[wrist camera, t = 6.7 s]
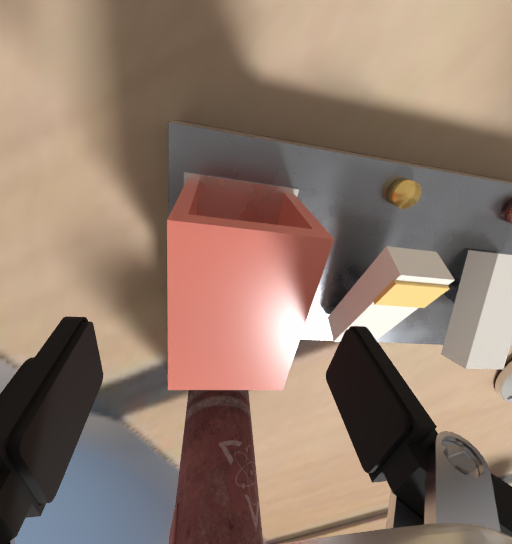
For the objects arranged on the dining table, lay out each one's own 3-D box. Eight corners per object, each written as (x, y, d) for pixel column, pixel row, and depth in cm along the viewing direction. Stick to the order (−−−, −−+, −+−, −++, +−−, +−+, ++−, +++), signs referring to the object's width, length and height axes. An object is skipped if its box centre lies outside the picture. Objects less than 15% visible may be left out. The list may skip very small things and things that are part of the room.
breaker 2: (505, 254, 19) (538, 258, 17) (475, 355, 20) (503, 369, 19) (468, 249, 18) (498, 253, 17) (441, 354, 20) (465, 368, 18)
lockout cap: (294, 194, 15) (334, 239, 10) (265, 314, 20) (282, 390, 14) (187, 178, 14) (166, 220, 9) (183, 309, 18) (167, 390, 13)
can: (194, 360, 26) (171, 573, 14) (254, 369, 27) (280, 565, 16) (181, 397, 29) (153, 601, 17) (237, 403, 30) (247, 591, 18)
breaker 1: (436, 251, 15) (457, 283, 13) (364, 319, 21) (373, 345, 20) (385, 246, 14) (402, 278, 13) (327, 317, 20) (333, 344, 19)
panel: (519, 182, 20) (585, 198, 16) (428, 322, 27) (460, 355, 23) (177, 120, 15) (163, 123, 12) (174, 308, 22) (166, 346, 19)
